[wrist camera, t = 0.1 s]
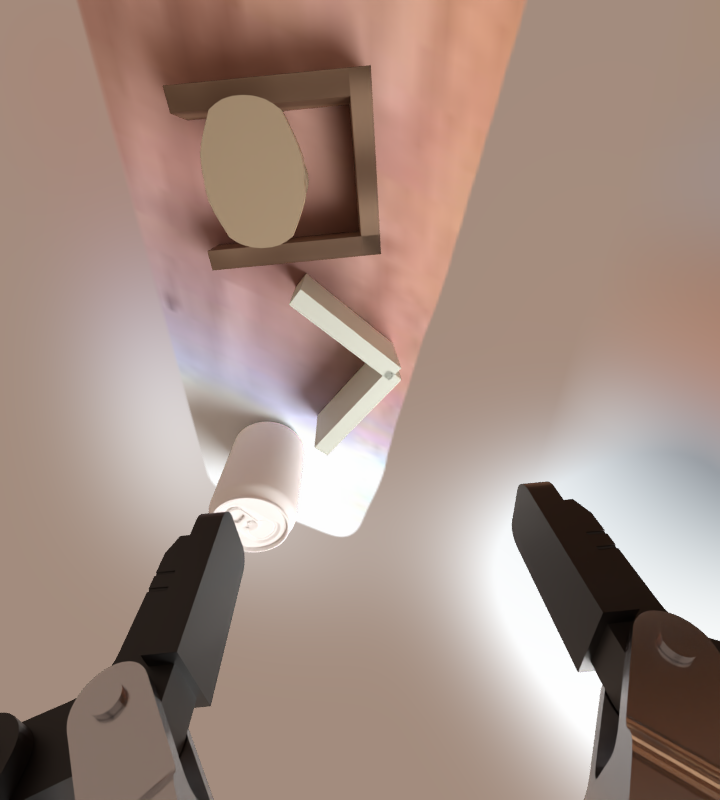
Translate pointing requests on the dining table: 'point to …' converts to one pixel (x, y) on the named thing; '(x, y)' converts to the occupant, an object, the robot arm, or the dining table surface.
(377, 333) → the cream l-shaped bracket
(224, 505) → the beverage can
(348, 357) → the dining table surface
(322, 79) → the u-shaped bracket
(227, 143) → the handle
